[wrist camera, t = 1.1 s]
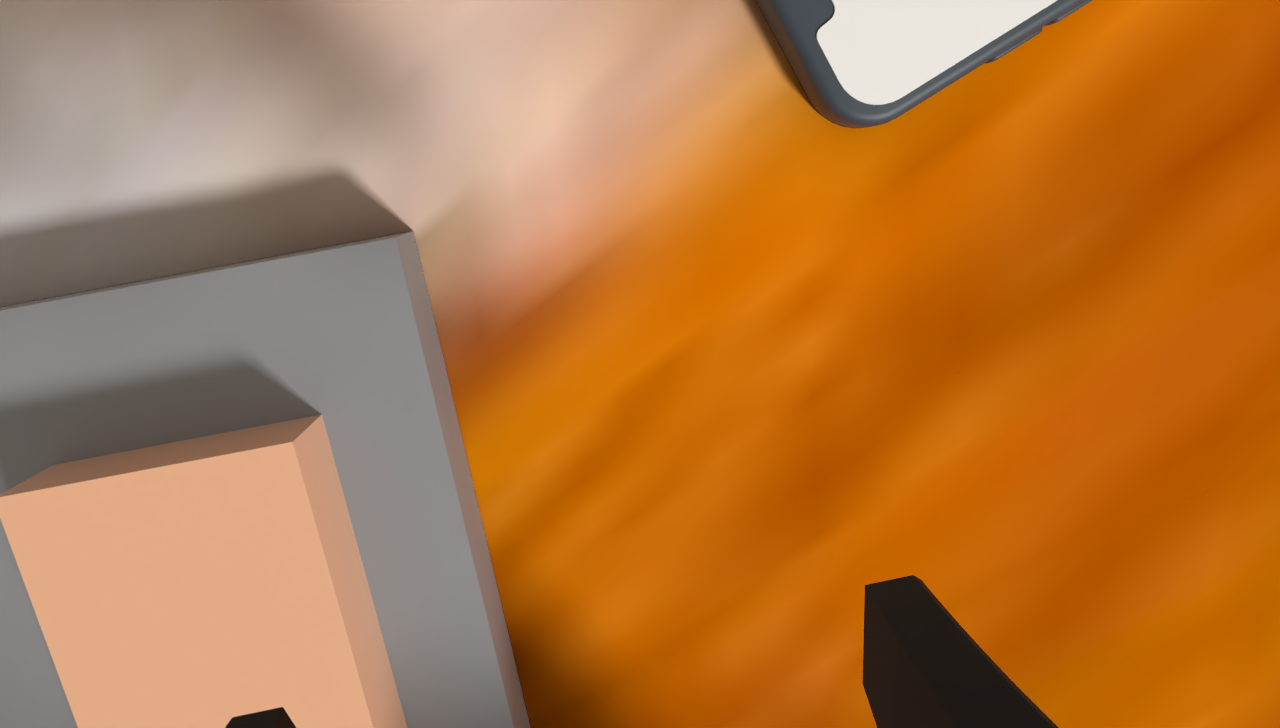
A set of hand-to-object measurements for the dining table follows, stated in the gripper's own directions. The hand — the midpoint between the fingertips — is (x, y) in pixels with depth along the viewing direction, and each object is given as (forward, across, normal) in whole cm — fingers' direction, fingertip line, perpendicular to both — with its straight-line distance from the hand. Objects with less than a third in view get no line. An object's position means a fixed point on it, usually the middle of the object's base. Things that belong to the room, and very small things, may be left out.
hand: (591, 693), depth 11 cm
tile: (+8, +8, +6) cm, 13 cm away
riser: (+10, +9, +7) cm, 15 cm away
